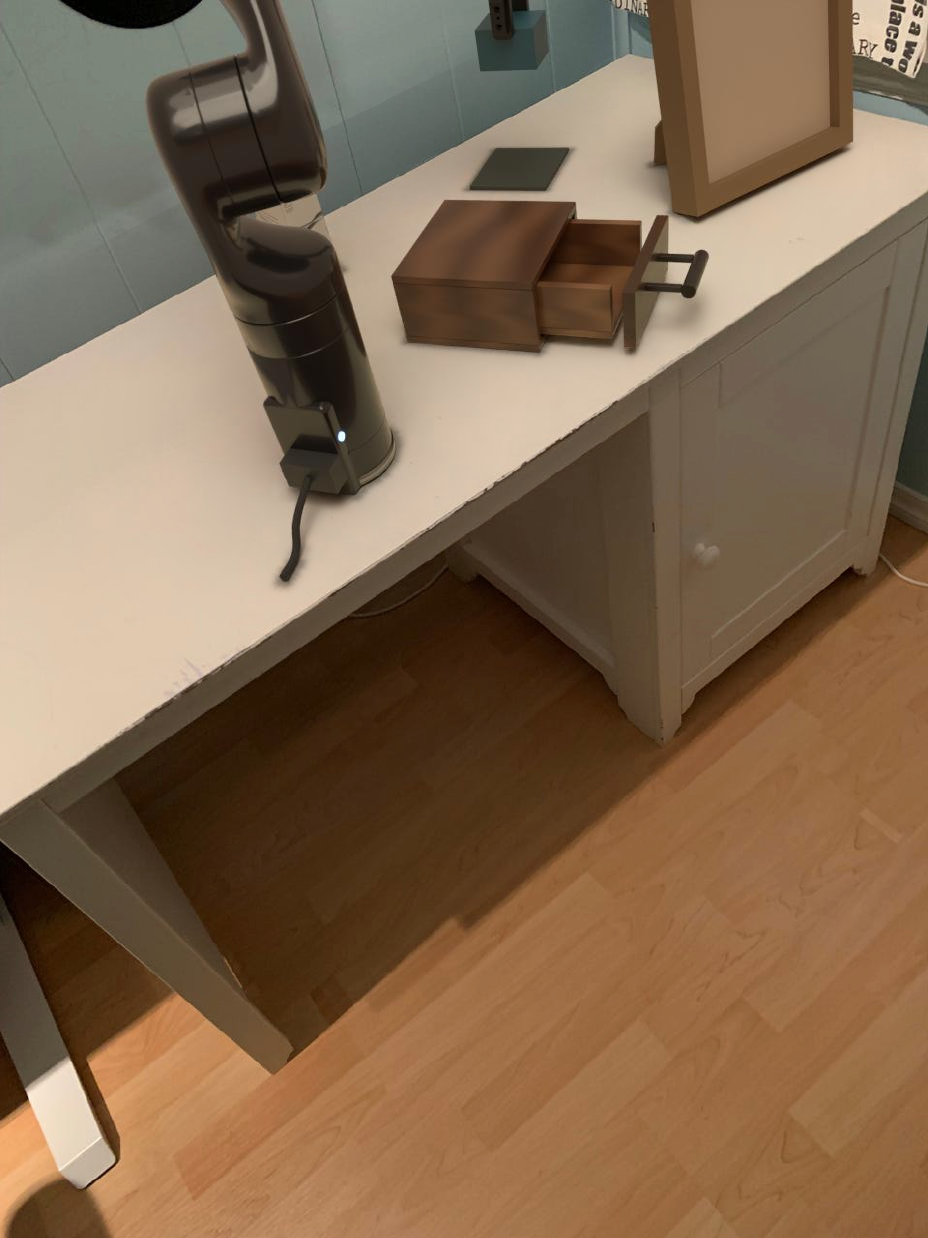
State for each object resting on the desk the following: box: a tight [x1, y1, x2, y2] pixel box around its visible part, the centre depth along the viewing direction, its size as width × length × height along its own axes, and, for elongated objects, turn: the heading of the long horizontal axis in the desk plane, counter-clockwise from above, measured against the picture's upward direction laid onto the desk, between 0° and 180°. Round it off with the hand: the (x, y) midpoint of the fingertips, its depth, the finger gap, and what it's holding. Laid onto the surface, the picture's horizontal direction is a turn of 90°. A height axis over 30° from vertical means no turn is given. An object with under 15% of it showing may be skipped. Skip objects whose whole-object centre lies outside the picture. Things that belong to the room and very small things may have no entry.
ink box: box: [253, 193, 334, 246], centre depth 100 cm, size 9×5×12 cm, turn 39°
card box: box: [474, 9, 550, 72], centre depth 94 cm, size 4×6×4 cm
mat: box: [469, 147, 570, 191], centre depth 111 cm, size 10×10×1 cm
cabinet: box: [390, 199, 578, 353], centre depth 90 cm, size 15×15×8 cm
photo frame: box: [645, 0, 854, 218], centre depth 93 cm, size 15×22×25 cm
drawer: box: [535, 214, 710, 349], centre depth 86 cm, size 18×13×6 cm
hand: (512, 26), depth 93 cm, fingers closed on card box, 4 cm apart
